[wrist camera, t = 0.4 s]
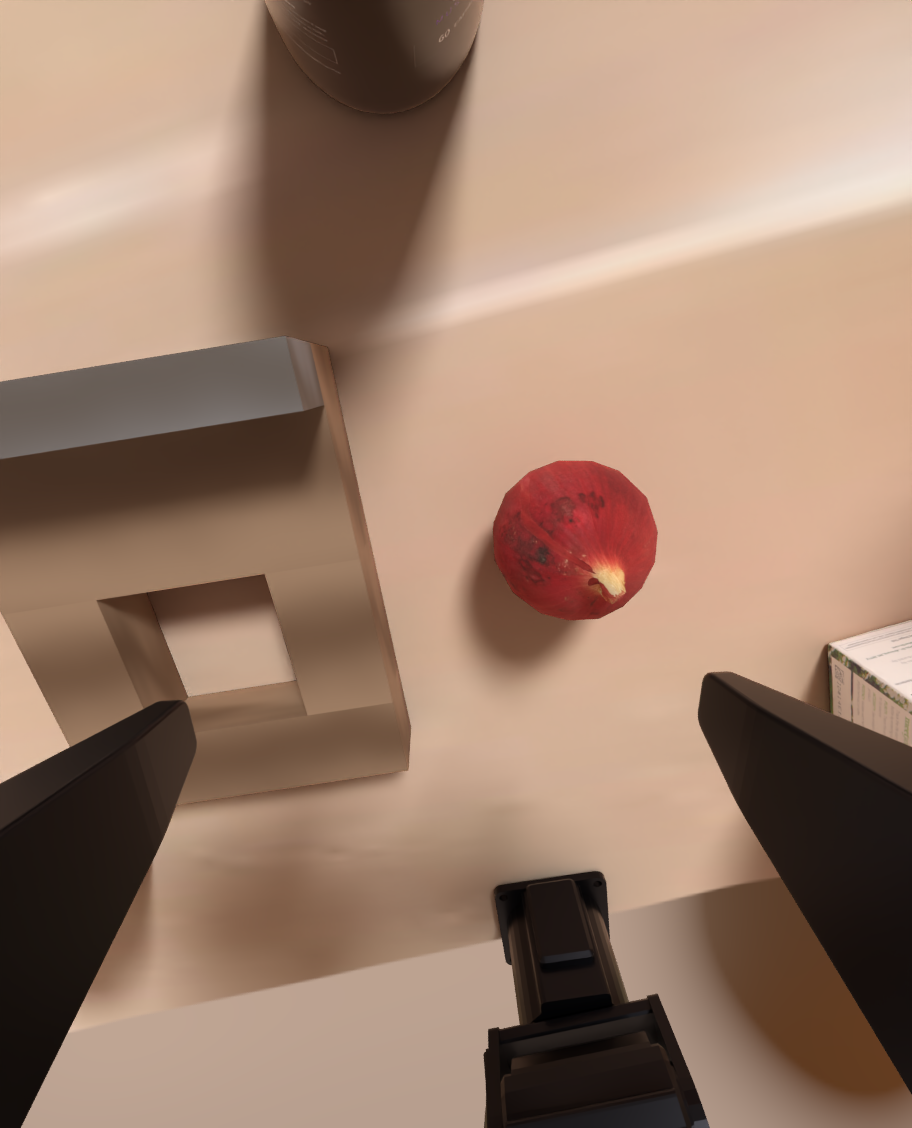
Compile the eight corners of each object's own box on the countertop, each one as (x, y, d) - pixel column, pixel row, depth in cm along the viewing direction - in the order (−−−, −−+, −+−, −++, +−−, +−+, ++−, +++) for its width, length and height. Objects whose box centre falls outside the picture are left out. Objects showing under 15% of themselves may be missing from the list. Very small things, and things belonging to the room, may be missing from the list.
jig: (411, 727, 26) (404, 825, 20) (140, 768, 26) (60, 876, 20) (327, 347, 20) (284, 335, 14) (-28, 404, 20) (-211, 415, 14)
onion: (466, 553, 23) (481, 640, 15) (513, 427, 21) (557, 457, 14) (583, 590, 24) (653, 690, 16) (638, 473, 22) (745, 524, 14)
